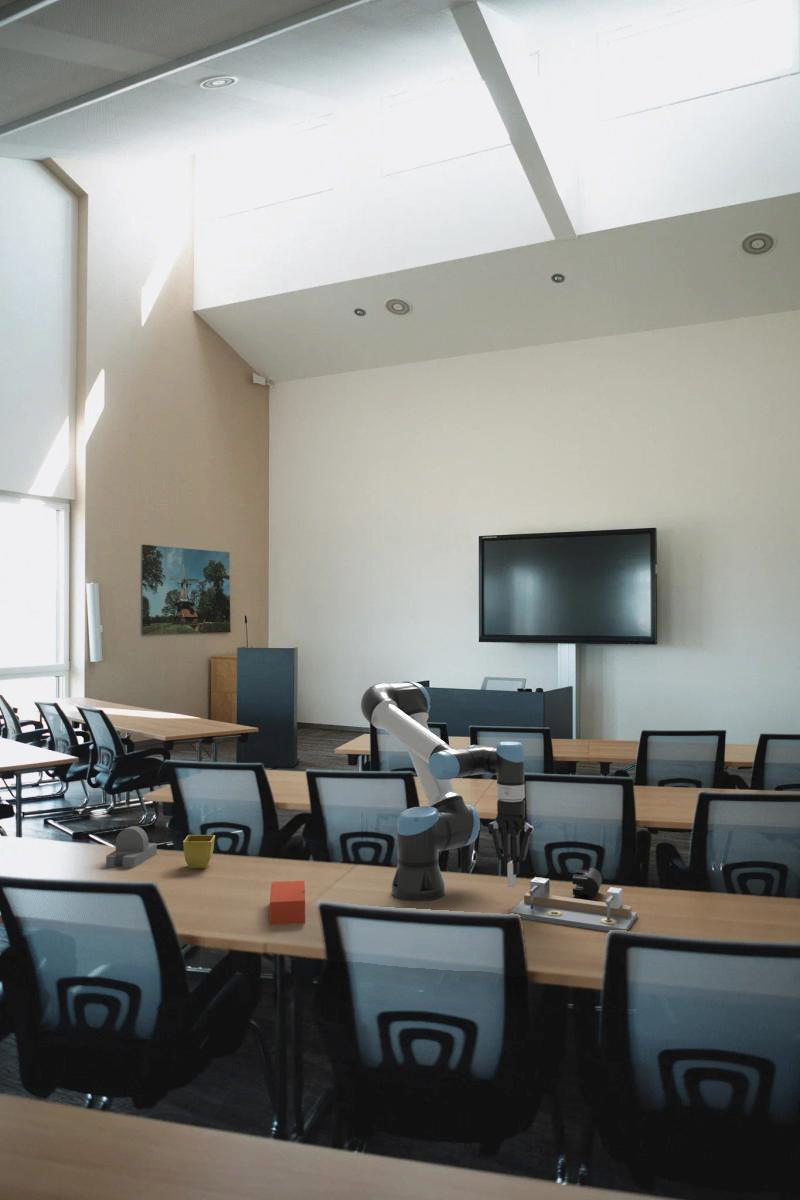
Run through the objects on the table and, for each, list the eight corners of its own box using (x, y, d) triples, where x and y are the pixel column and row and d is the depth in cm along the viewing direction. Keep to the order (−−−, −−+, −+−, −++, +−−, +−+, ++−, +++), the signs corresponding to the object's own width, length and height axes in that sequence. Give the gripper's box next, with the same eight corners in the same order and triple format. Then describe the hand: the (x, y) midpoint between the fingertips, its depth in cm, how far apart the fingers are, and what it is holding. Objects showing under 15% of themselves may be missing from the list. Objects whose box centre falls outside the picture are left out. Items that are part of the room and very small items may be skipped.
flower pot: (215, 862, 283) (215, 834, 283) (211, 870, 274) (211, 841, 274) (187, 863, 282) (187, 835, 283) (182, 871, 274) (182, 841, 274)
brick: (271, 903, 242) (271, 881, 242) (304, 902, 243) (304, 880, 243) (269, 925, 224) (269, 902, 225) (305, 924, 225) (305, 900, 226)
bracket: (157, 854, 295) (157, 821, 295) (133, 868, 277) (133, 834, 277) (130, 853, 296) (130, 820, 296) (104, 867, 278) (104, 833, 279)
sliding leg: (523, 908, 231) (523, 887, 231) (535, 897, 240) (535, 877, 240) (538, 911, 229) (538, 889, 229) (549, 899, 238) (549, 878, 238)
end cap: (598, 902, 241) (598, 877, 241) (572, 900, 243) (572, 875, 243) (602, 892, 251) (601, 868, 251) (576, 890, 253) (576, 866, 253)
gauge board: (509, 916, 230) (509, 888, 230) (526, 901, 242) (526, 874, 243) (625, 933, 217) (625, 904, 217) (637, 916, 229) (636, 888, 229)
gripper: (483, 799, 241) (484, 886, 240) (529, 803, 235) (530, 892, 234) (493, 794, 248) (494, 879, 247) (538, 798, 242) (538, 885, 241)
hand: (511, 885), depth 241 cm, fingers closed
